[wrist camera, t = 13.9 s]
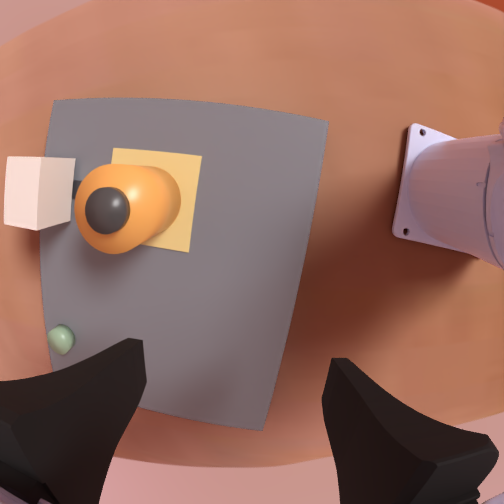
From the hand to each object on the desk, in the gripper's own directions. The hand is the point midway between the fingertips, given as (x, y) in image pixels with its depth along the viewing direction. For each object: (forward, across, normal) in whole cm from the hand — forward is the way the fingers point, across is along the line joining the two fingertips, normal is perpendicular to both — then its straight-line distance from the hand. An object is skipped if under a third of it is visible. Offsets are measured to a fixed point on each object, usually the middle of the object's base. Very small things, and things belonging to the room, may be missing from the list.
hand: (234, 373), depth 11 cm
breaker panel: (+10, +6, 0) cm, 12 cm away
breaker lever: (+8, +13, -6) cm, 16 cm away
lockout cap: (+8, +6, -5) cm, 11 cm away
